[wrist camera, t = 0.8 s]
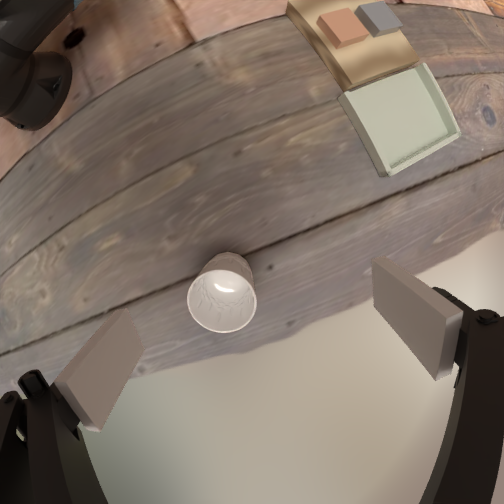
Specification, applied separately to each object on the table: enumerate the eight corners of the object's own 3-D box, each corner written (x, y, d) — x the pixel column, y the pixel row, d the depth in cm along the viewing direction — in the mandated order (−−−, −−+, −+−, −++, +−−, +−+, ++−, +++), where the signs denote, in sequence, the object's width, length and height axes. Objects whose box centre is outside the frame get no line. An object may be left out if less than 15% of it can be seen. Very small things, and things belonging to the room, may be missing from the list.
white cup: (248, 242, 40) (247, 262, 30) (260, 293, 42) (263, 326, 32) (195, 254, 40) (178, 277, 30) (209, 303, 42) (198, 337, 32)
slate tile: (353, 13, 27) (359, 5, 24) (377, 8, 26) (383, 0, 24) (373, 37, 28) (379, 31, 25) (396, 31, 27) (403, 25, 25)
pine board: (285, 13, 30) (288, 0, 27) (353, -5, 29) (361, -16, 25) (343, 92, 34) (352, 84, 30) (408, 67, 32) (420, 59, 28)
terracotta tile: (315, 23, 28) (319, 15, 25) (343, 15, 27) (348, 7, 25) (336, 49, 29) (341, 42, 26) (363, 40, 28) (369, 33, 26)
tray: (337, 98, 34) (343, 92, 31) (415, 68, 32) (425, 62, 29) (379, 176, 37) (389, 177, 34) (450, 137, 35) (462, 135, 32)
